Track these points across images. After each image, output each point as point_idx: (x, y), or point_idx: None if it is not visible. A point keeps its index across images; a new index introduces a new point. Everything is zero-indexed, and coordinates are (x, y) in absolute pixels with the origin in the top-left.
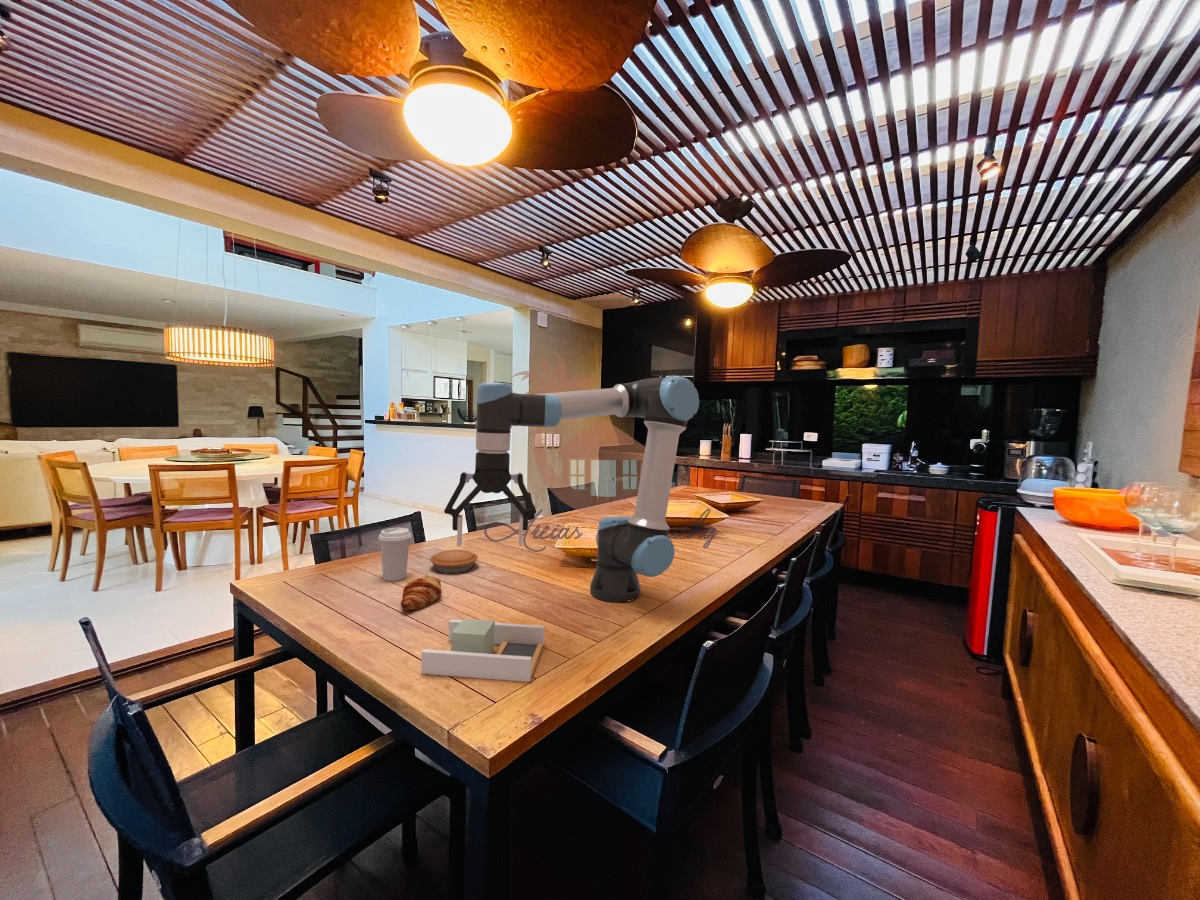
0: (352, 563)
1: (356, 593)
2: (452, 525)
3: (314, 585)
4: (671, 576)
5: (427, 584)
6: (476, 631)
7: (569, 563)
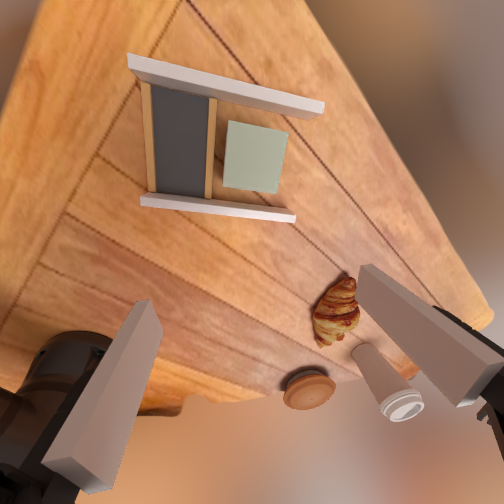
0: (402, 371)
1: None
2: (463, 322)
3: None
4: None
5: (335, 318)
6: (246, 136)
7: (173, 414)
